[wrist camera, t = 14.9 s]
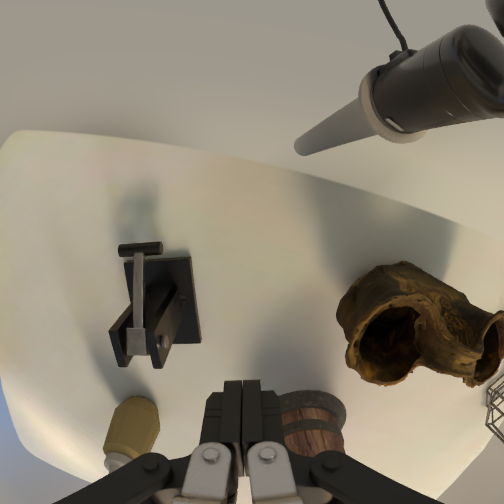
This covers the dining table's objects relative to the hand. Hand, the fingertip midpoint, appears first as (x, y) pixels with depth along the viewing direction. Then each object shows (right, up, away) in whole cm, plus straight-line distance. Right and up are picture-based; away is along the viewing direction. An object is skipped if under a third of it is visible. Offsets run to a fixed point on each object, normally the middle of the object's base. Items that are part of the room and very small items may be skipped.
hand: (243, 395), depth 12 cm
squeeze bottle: (-18, -20, +33) cm, 43 cm away
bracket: (-11, -1, +28) cm, 30 cm away
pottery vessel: (+20, 0, +29) cm, 35 cm away
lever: (-12, +1, +20) cm, 23 cm away
